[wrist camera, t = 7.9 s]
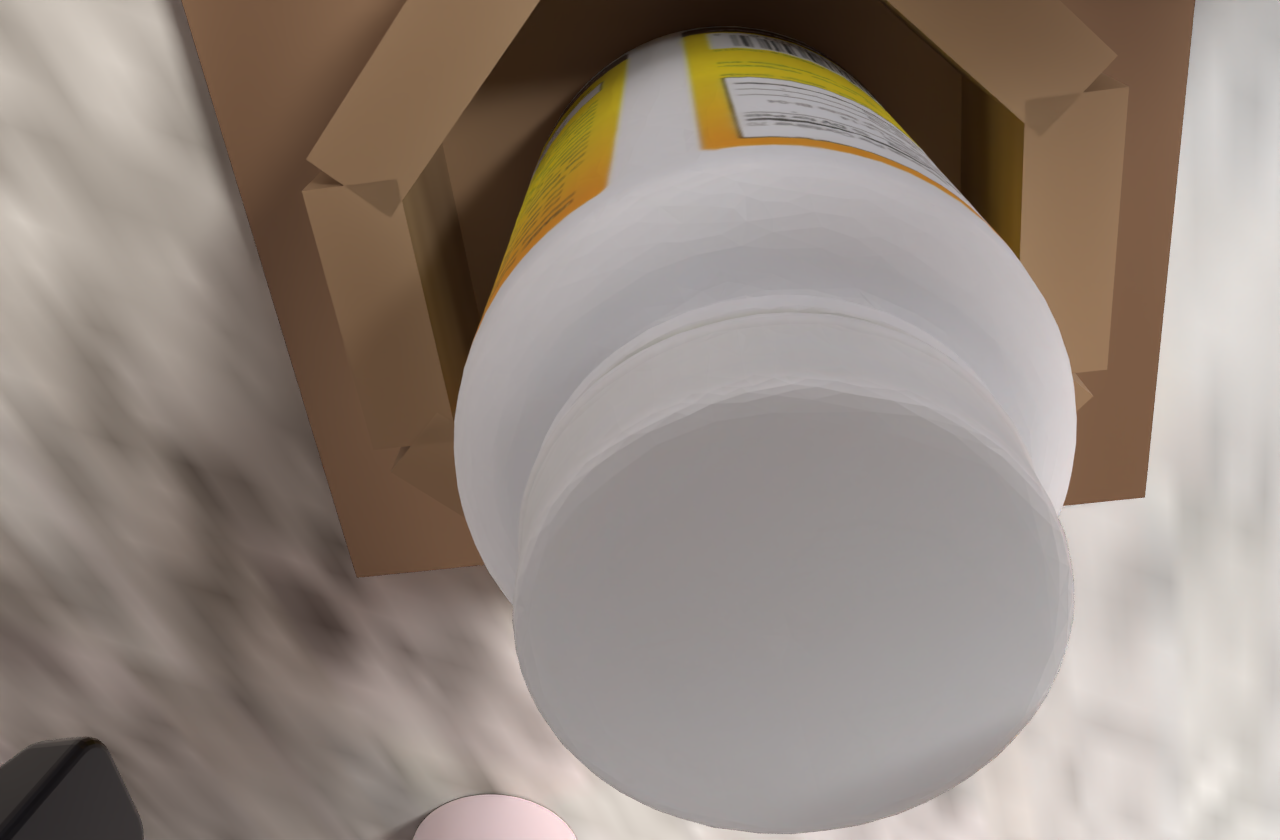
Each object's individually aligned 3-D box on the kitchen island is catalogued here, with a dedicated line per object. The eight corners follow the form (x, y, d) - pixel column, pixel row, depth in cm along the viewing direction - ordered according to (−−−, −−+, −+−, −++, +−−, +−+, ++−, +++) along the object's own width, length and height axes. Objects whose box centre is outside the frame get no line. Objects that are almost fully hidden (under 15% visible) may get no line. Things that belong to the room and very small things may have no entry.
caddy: (1209, -322, 14) (1368, -367, 11) (1133, 482, 20) (1224, 603, 16) (147, -165, 15) (15, -163, 12) (363, 561, 21) (312, 691, 17)
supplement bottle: (591, 409, 18) (526, 961, 9) (485, 75, 16) (255, 381, 7) (928, 332, 18) (1214, 849, 9) (871, -31, 15) (1188, 153, 6)
